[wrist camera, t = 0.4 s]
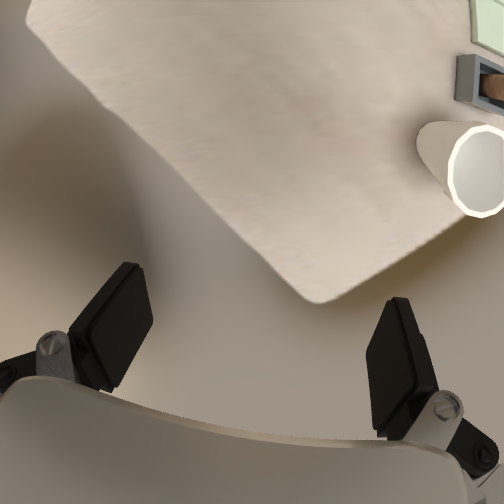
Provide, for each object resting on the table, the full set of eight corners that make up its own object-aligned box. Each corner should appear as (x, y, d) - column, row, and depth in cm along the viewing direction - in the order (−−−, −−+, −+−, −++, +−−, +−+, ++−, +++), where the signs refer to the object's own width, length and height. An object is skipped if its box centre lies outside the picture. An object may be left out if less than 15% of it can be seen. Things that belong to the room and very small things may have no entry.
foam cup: (399, 169, 35) (436, 207, 24) (410, 102, 30) (457, 112, 19) (457, 183, 34) (504, 224, 23) (470, 121, 29) (526, 142, 18)
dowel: (468, 70, 25) (510, 71, 17) (486, 77, 25) (529, 82, 16) (466, 92, 27) (509, 98, 18) (484, 99, 26) (528, 108, 18)
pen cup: (457, 55, 25) (475, 54, 21) (492, 71, 24) (512, 72, 20) (454, 99, 28) (472, 102, 24) (489, 112, 27) (509, 118, 23)
